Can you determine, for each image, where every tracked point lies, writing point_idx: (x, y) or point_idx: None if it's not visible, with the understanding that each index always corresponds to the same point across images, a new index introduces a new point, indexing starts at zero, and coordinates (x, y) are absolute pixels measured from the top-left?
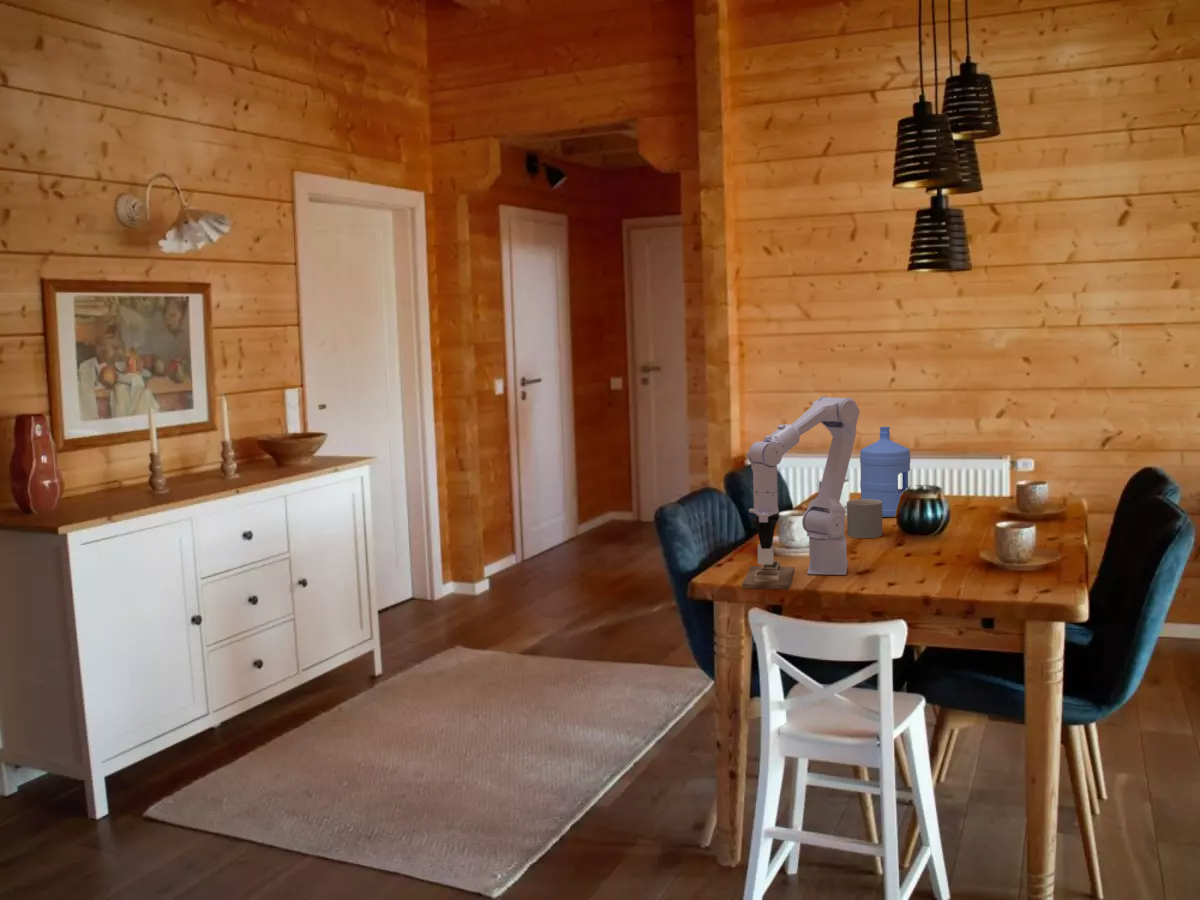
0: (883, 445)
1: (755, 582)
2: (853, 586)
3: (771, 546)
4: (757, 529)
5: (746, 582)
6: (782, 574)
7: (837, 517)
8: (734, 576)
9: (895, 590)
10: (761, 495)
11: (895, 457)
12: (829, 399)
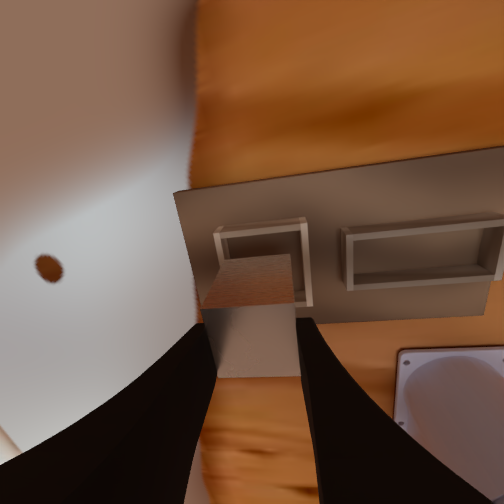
0: None
1: (208, 233)
2: (275, 439)
3: (218, 373)
4: (71, 431)
5: (200, 202)
6: (346, 295)
7: None
8: (368, 103)
9: (256, 493)
10: None
11: None
12: None
